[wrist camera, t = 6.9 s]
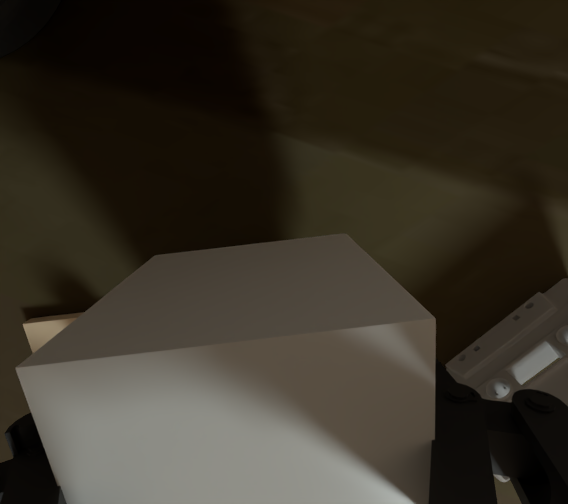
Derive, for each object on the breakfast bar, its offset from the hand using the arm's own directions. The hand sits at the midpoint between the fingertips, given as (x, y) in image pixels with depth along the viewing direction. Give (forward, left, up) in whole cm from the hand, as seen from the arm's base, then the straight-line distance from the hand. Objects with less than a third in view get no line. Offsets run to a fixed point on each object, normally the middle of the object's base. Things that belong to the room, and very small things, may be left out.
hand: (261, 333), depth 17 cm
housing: (0, 0, 0) cm, 0 cm away
